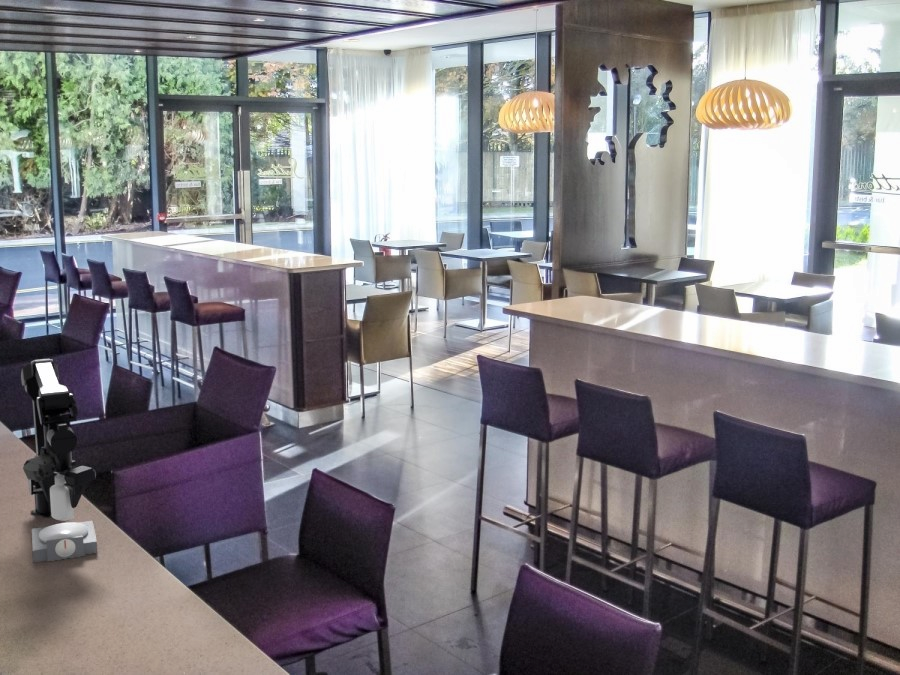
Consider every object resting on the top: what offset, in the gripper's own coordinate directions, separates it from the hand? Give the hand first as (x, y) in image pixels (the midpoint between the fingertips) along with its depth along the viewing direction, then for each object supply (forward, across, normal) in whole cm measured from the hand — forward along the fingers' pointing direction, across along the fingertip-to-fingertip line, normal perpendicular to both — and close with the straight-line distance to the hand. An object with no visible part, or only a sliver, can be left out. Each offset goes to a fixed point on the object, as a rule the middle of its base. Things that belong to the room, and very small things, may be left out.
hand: (61, 504), depth 225 cm
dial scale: (+11, 0, 0) cm, 11 cm away
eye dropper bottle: (+4, 0, 0) cm, 4 cm away
